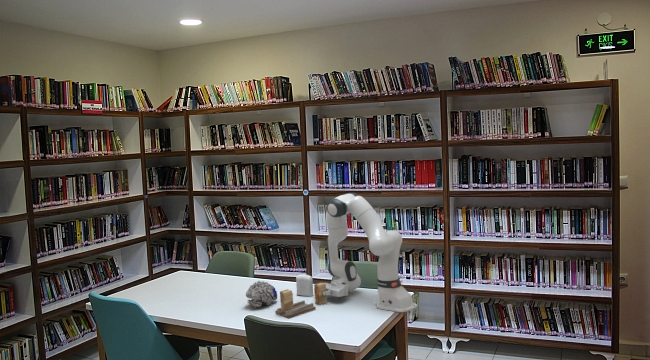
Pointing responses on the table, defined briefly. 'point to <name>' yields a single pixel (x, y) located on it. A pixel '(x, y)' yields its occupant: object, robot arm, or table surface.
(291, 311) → the wooden block stand
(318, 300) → the wooden block
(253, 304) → the educational model
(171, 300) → the table surface
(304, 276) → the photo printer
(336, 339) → the table surface
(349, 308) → the table surface
